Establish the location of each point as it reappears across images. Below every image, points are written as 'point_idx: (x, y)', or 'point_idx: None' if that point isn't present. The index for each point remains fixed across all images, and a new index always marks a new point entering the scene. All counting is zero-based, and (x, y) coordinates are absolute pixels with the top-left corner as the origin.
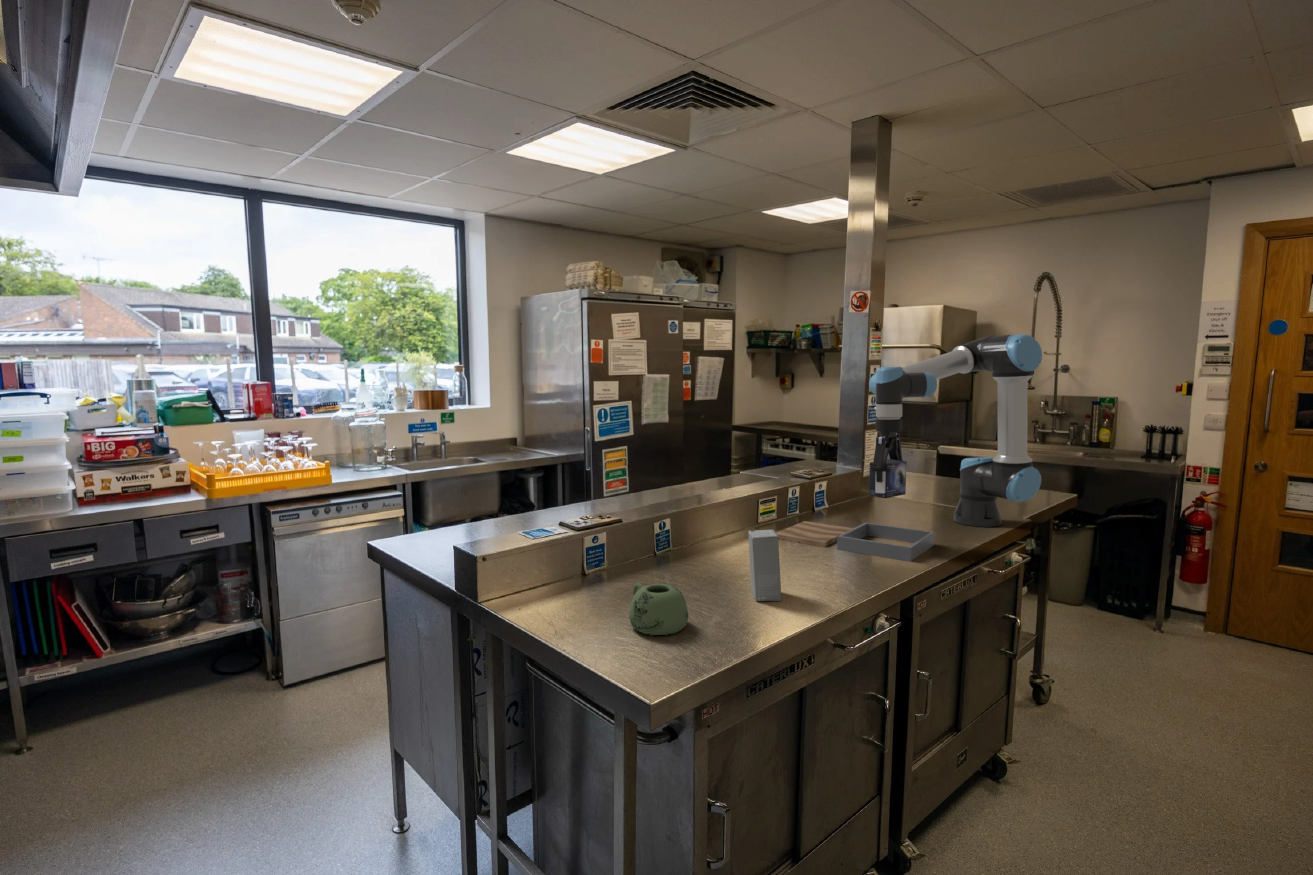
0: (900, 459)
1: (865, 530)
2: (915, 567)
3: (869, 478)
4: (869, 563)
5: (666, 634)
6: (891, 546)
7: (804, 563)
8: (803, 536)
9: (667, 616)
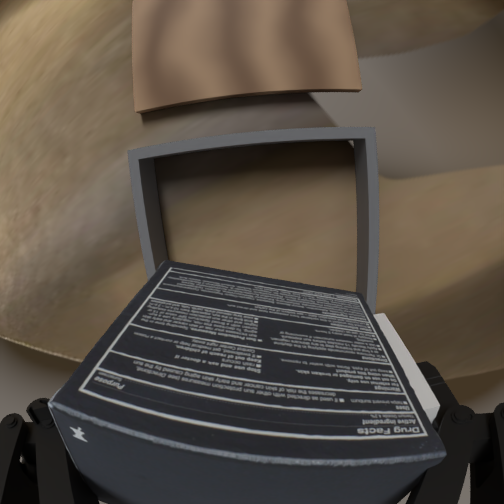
0: (470, 473)
1: (345, 139)
2: None
3: (119, 315)
4: (99, 276)
5: None
6: None
7: (18, 172)
8: (155, 31)
9: None
